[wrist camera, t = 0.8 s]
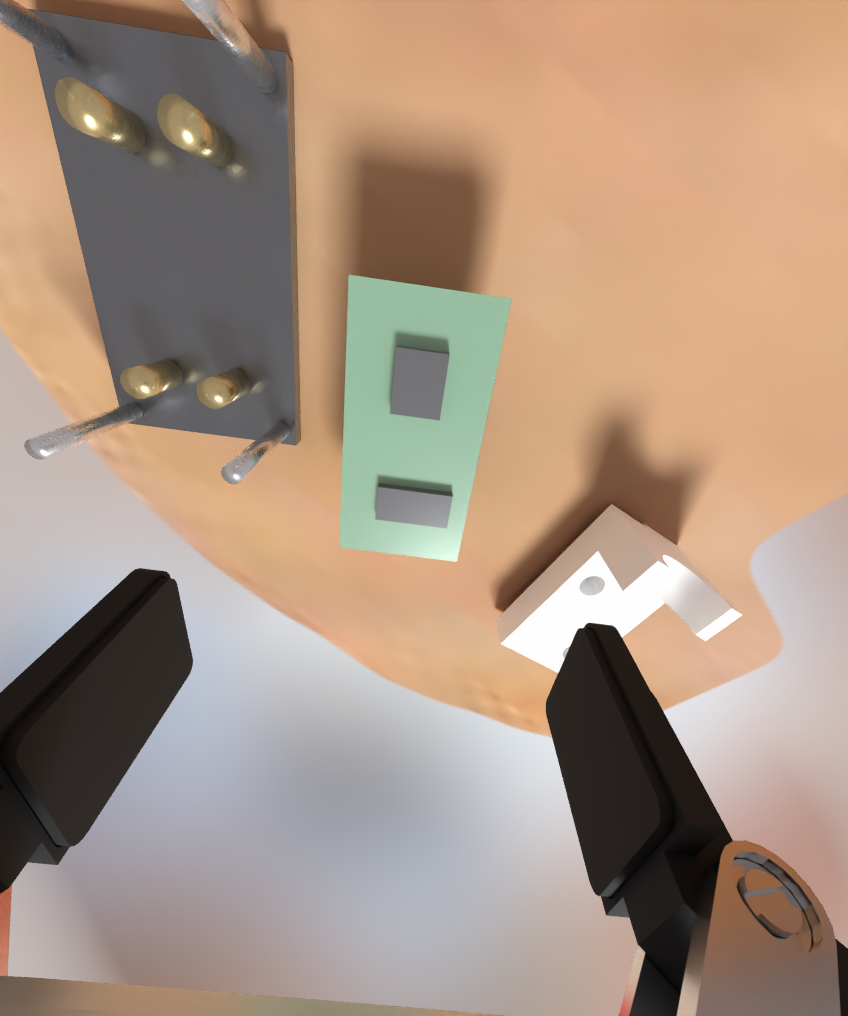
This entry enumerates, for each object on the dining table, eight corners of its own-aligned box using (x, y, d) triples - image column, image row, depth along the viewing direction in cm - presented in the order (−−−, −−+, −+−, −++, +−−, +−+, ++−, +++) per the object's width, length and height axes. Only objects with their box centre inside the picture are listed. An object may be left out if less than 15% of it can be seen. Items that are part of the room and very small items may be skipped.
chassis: (44, 22, 18) (-214, -155, 11) (293, 63, 18) (202, -80, 11) (133, 418, 26) (23, 464, 19) (300, 440, 27) (252, 493, 20)
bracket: (606, 497, 28) (658, 560, 22) (675, 543, 30) (742, 614, 24) (494, 611, 34) (509, 689, 27) (558, 644, 36) (586, 726, 29)
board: (356, 275, 19) (345, 274, 16) (504, 298, 19) (514, 299, 17) (346, 529, 25) (337, 553, 23) (455, 542, 26) (457, 567, 23)
